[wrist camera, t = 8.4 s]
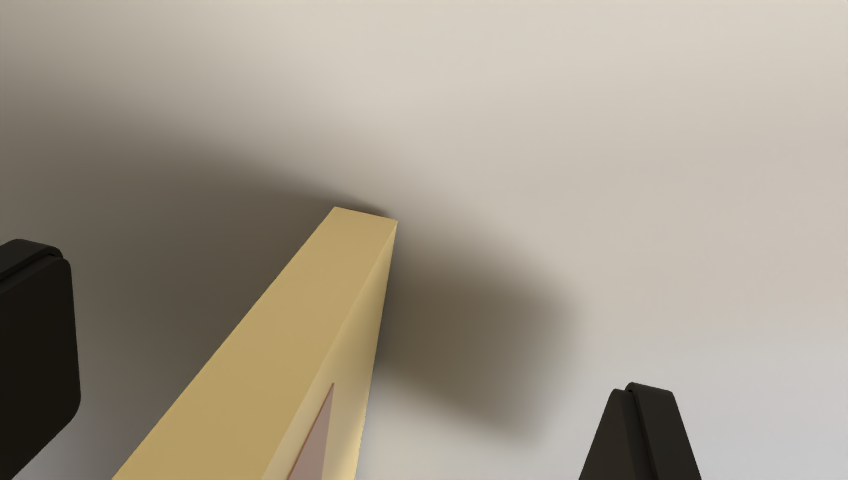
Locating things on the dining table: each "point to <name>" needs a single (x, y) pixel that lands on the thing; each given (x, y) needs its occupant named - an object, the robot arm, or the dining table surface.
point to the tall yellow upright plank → (286, 371)
